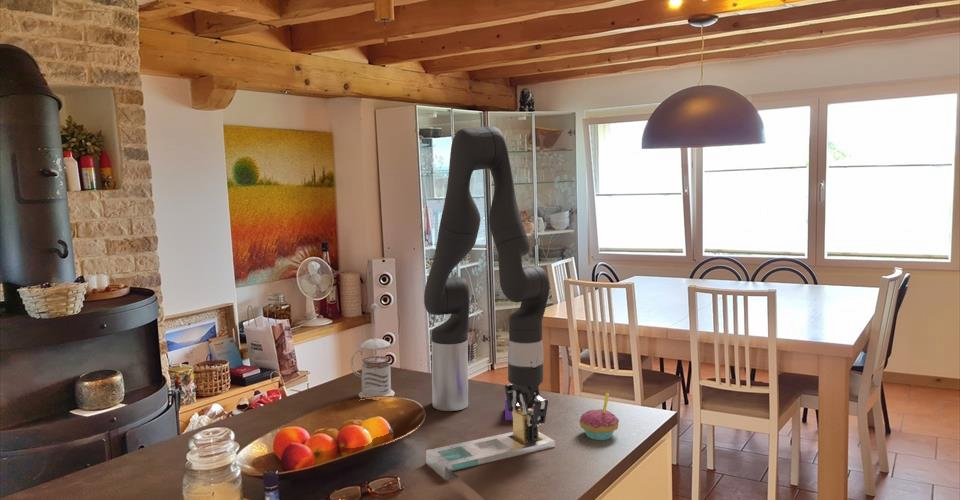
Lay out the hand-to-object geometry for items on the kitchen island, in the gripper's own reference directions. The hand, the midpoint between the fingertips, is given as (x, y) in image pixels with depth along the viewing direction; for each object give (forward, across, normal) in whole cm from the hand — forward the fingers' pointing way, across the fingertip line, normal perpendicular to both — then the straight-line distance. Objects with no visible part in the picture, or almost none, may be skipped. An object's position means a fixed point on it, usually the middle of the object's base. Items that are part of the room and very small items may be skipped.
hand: (525, 437), depth 149 cm
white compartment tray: (+3, 0, -8) cm, 9 cm away
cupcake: (+3, +4, +16) cm, 17 cm away
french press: (+3, -53, -16) cm, 55 cm away
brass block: (+1, 0, 0) cm, 1 cm away
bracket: (+3, -18, +10) cm, 21 cm away
